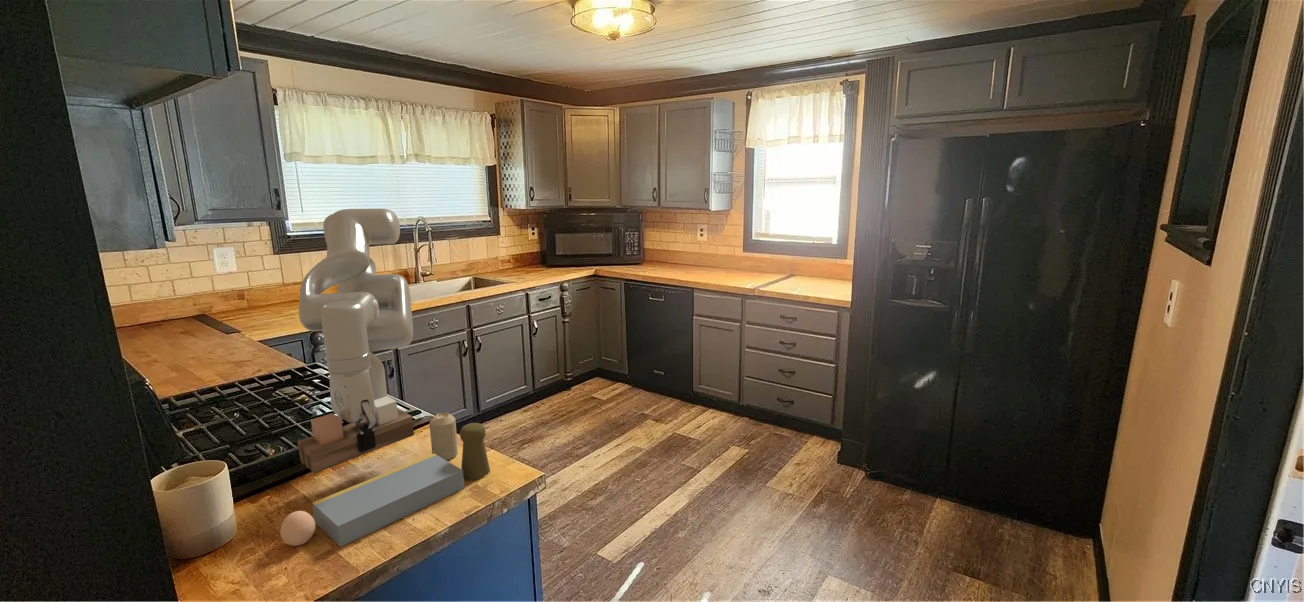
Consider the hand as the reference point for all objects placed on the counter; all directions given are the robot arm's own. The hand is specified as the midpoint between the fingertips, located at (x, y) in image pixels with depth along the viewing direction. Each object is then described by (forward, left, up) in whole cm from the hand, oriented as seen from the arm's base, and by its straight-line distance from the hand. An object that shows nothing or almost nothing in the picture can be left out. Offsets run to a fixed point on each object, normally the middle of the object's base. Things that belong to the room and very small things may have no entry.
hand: (359, 443), depth 114 cm
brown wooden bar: (0, 0, -1) cm, 1 cm away
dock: (+14, 0, -8) cm, 16 cm away
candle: (+4, +17, -9) cm, 19 cm away
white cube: (0, +6, +3) cm, 7 cm away
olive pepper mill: (+16, +17, -9) cm, 24 cm away
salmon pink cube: (0, -6, +3) cm, 6 cm away
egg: (+13, -16, -9) cm, 22 cm away
